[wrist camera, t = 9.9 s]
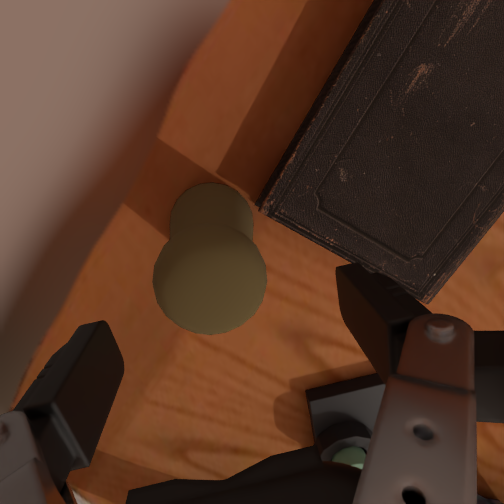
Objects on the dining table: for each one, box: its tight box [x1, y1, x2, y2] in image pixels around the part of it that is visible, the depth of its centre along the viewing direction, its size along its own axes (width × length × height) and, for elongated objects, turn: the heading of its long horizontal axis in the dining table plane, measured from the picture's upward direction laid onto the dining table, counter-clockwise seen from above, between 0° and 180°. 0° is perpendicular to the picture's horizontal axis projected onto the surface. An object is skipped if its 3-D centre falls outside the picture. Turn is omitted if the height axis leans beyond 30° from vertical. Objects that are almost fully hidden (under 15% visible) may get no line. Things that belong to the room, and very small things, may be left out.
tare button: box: [332, 446, 366, 469], centre depth 30 cm, size 3×3×2 cm
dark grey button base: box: [305, 373, 386, 461], centre depth 32 cm, size 15×13×3 cm
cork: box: [153, 183, 267, 335], centre depth 19 cm, size 6×6×11 cm
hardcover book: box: [255, 0, 504, 304], centre depth 22 cm, size 16×23×2 cm
